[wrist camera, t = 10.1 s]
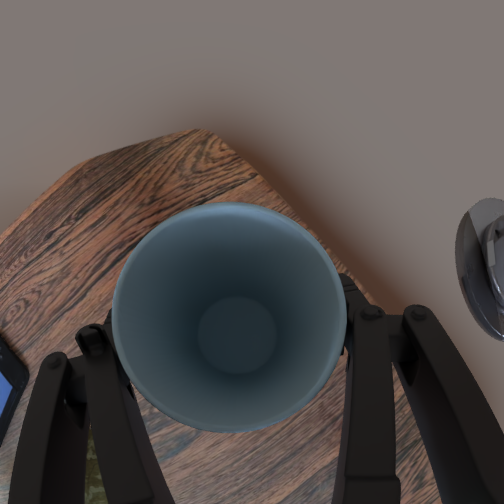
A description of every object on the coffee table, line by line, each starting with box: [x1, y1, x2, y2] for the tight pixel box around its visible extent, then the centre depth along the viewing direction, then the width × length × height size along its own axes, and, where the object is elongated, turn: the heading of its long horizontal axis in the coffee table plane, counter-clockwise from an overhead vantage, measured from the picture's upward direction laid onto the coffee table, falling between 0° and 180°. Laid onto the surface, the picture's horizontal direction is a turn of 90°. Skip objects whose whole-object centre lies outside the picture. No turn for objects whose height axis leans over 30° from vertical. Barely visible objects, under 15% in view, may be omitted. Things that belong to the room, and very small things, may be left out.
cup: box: [112, 202, 347, 433], centre depth 14 cm, size 8×8×10 cm
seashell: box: [85, 429, 108, 504], centre depth 22 cm, size 10×7×10 cm
